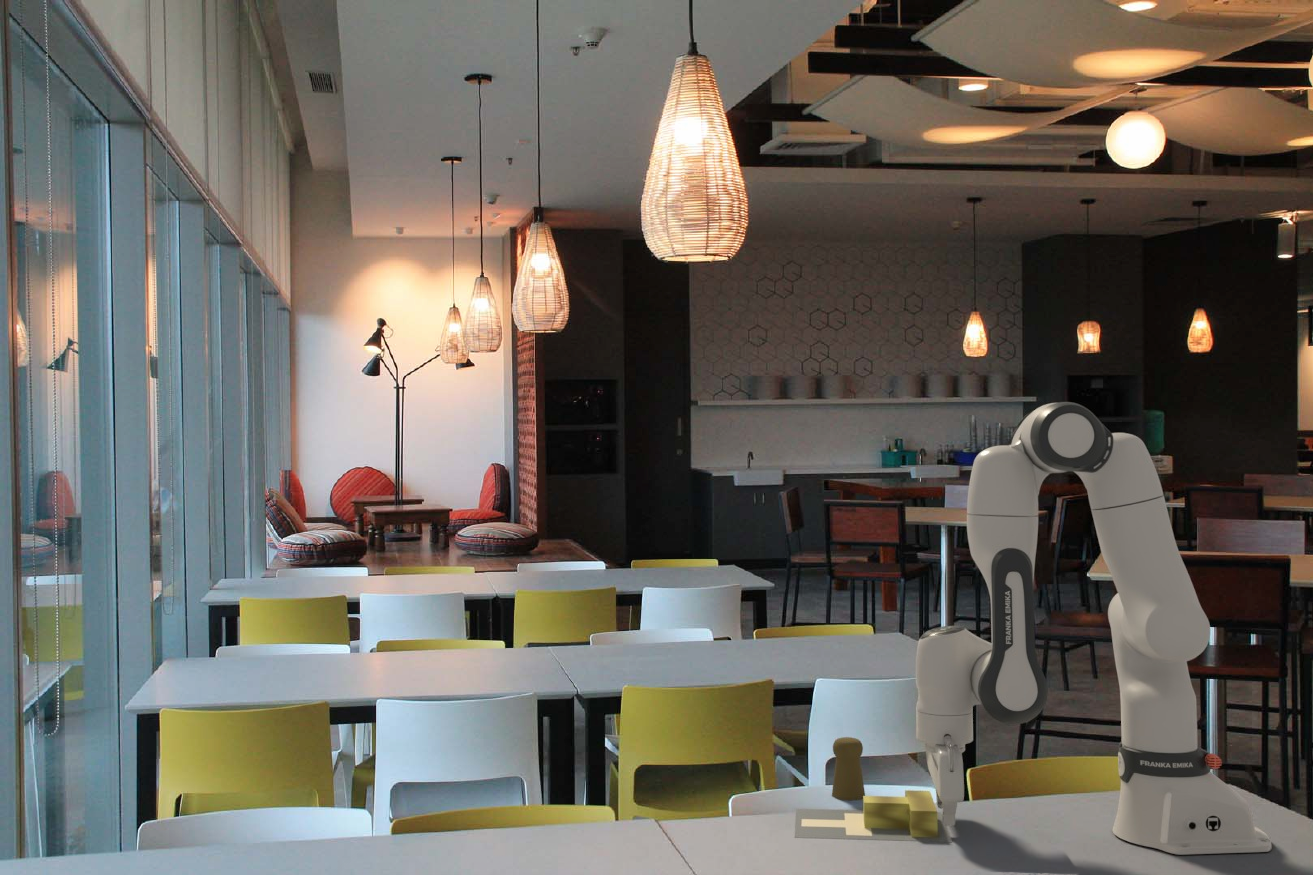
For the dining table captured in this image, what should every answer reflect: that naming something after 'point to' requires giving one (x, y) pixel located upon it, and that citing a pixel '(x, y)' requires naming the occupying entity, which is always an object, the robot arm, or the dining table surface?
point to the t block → (902, 813)
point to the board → (854, 827)
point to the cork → (848, 769)
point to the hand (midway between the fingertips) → (945, 815)
